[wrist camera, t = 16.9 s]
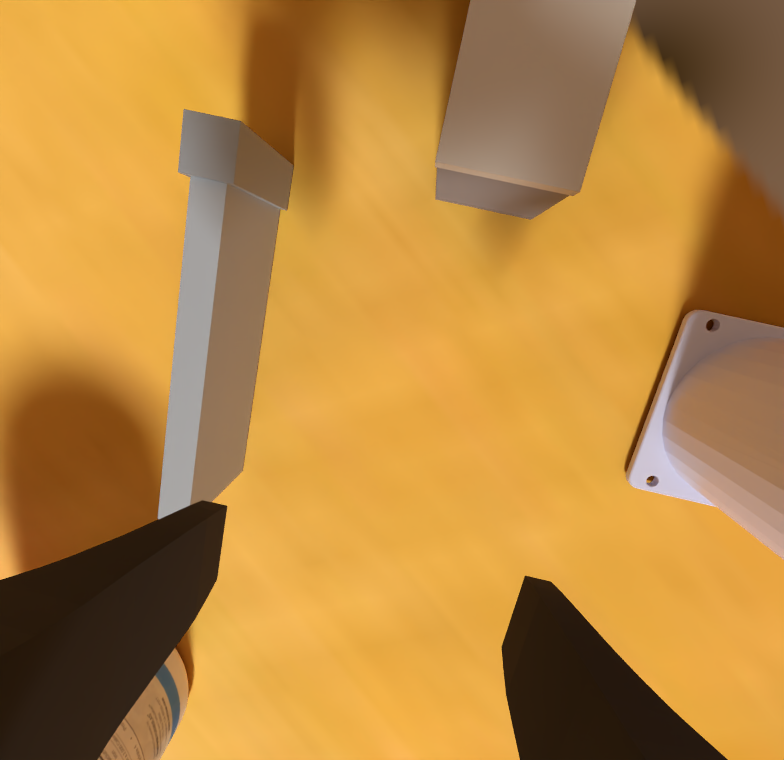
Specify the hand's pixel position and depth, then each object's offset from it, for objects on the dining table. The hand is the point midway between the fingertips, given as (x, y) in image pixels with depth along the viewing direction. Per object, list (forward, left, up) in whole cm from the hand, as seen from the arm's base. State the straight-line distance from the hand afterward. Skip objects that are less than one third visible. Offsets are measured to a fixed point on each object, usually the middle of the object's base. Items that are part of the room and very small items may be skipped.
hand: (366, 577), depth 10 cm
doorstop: (-1, -14, -11) cm, 18 cm away
